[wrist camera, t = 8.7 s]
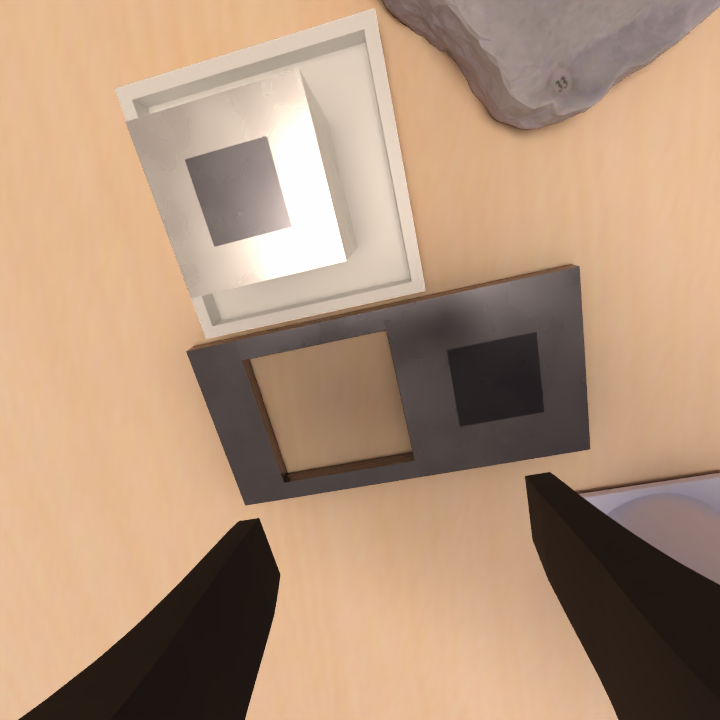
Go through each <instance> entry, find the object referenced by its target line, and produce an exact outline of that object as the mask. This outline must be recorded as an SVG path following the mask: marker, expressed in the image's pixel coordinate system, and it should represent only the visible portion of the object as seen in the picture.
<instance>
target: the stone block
mask: <svg viewBox="0 0 720 720" xmlns="http://www.w3.org/2000/svg"><path fill="white" fill-rule="evenodd" d="M383 2H384V4H385V6H386V8H387V9H388V10H389V11H390V12H391V13H392V14H393V15H394V16H395V17H397V18H398V19H399V20H400V21H401V22H402V23H404V24H406V25H407V26H409V27H410V28H411V29H412V30H413V31H414V32H415V33H416V34H418V35H420V36H422V37H424V38H425V39H426V40H427V41H428V42H429V43H430V44H432V45H433V46H434V47H436V48H437V49H439V50H440V51H442V52H446V53H448V54H449V55H450V56H451V57H452V58H453V60H454V61H455V62H456V63H458V65H459V67H460V69H461V71H462V73H463V74H464V76H465V78H466V79H467V81H468V84H469V86H470V88H471V90H472V92H473V93H474V94H475V96H476V97H477V98H478V99H479V100H480V101H481V102H482V103H483V105H484V106H485V107H486V108H487V110H488V111H489V114H490V115H491V116H492V117H493V118H494V119H496V120H497V121H499V122H503V123H507V124H510V125H513V126H515V127H517V128H520V129H533V128H539V129H540V128H542V127H544V126H546V125H550V124H553V123H558V122H562V121H564V120H566V119H568V118H570V117H573V116H575V115H577V114H580V113H582V112H585V111H586V110H588V109H589V108H590V107H592V106H593V105H595V104H596V103H597V102H599V101H600V100H601V99H602V98H603V97H604V95H605V94H606V93H607V91H608V90H609V89H610V88H611V87H613V86H614V85H615V84H617V83H618V82H620V81H621V80H623V79H624V78H625V77H627V76H628V75H630V74H631V73H633V72H635V71H637V70H639V69H641V68H643V67H645V66H646V65H648V64H650V63H651V62H652V61H654V60H655V59H656V58H657V57H658V56H660V55H661V54H662V53H664V52H665V51H666V50H668V49H669V48H670V47H672V46H673V45H675V44H676V43H678V42H679V41H680V40H681V39H682V38H684V37H685V36H686V35H687V34H689V33H690V30H692V29H693V28H695V27H696V26H697V25H699V24H700V23H701V22H702V21H703V20H705V19H706V18H707V17H708V16H709V15H710V14H712V13H713V12H714V11H715V10H716V9H717V8H719V6H720V0H383Z"/></svg>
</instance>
